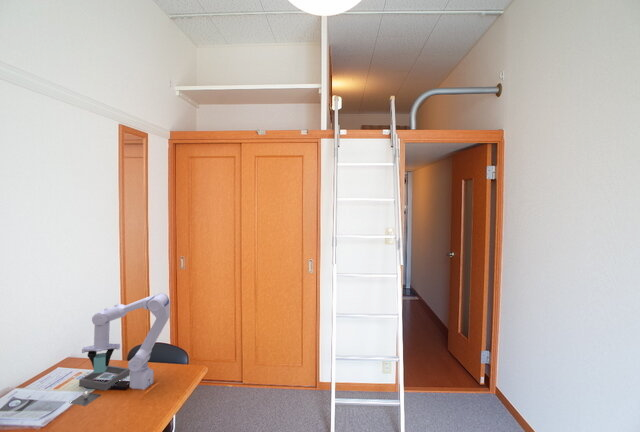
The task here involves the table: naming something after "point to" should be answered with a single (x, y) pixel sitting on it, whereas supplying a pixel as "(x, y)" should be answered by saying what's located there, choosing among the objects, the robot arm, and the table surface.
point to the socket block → (100, 363)
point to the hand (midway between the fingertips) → (100, 365)
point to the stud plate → (85, 398)
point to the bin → (104, 386)
